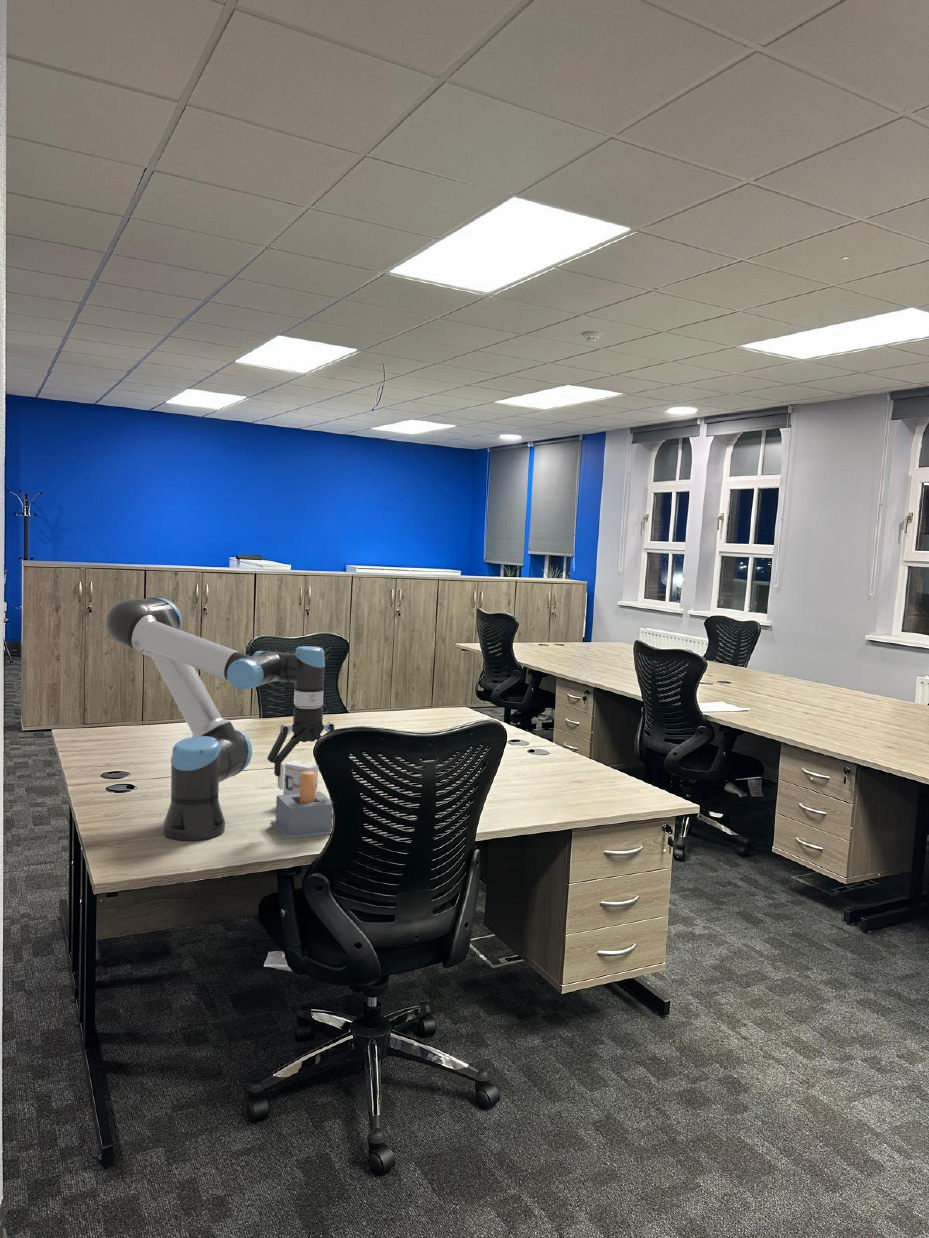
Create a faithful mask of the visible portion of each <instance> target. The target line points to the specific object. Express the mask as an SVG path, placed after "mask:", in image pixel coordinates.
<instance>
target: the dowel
mask: <svg viewBox="0 0 929 1238" xmlns="http://www.w3.org/2000/svg"><path fill="white" fill-rule="evenodd" d="M315 776H316V773H315V772H312V771H304V772H301V773H300V804H302V803H312V802H315Z"/></svg>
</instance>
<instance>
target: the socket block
mask: <svg viewBox="0 0 929 1238" xmlns="http://www.w3.org/2000/svg"><path fill="white" fill-rule="evenodd" d="M330 800H331V799H330V798H329V797H327V796H326V795H325V794H324V793H323V792H321V791H320V790H317V792H315V802H312V803H302V804H300V793H296V794H286V795H283V794H277V795H276V801H275V802H276V805H275V809H276V810H275V819H272V820H270V823H271V824H272V825H273V827H275V829H277V830H278V832H279V833H280V834H281V835H282V836H283V838H284V839H286V840H293V839H298V838H299V839H300V838H307V837H308V838H309V837H316V836H325V835H331V834H330V832H331V829H332V819H333V814H332V804H331V801H332V800H331V801H330Z"/></svg>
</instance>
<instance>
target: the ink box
mask: <svg viewBox="0 0 929 1238" xmlns="http://www.w3.org/2000/svg"><path fill="white" fill-rule="evenodd" d="M316 764H317V763H311V762H306V761H302V760H296V759H295V760H292V761H289V762H286V763H284V783H283V792H282V793H283V794H282V795H286V794H296V793H300V773H301V772H304V771H312V772H315V773H316V776H315V792H317V791H318V777H319V775H318V774H319V766H318V767H317V765H318V764H317V765H316Z"/></svg>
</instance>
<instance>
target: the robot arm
mask: <svg viewBox="0 0 929 1238" xmlns="http://www.w3.org/2000/svg"><path fill="white" fill-rule="evenodd" d="M182 621H183V618H182V614H181V611H180V610H179V608H178V607H177V605H175V603H173V602H172V601H170V600H169V599H166V598H162V597H153V596H152V597H147V598H139V599H137V598H136V599H127V600H122V601H119V602H118V603H116V604H115V605H113V606H112V607H110V609H109V610H108V613H107V615H106V619H105V627H106V631H107V633H108V635H109V636H110V638H111V639H112V640H114V641H115V642H117V643H118V644H120V645H123V646H125V647H127V648H131V649H133V650H136V651H141V653H142V655H145V656H149V657H150V658H151V659H152V662H153V663H154V664H155V666H156V669H157V671H158V672H159V674H160V677H162V679H163V681H164V683H165V685H166V687H167V689H168V690H169V692H170V694H171V697H172V698H173V700H174V701H175V703H176V705H177V707H178V709H179V711H180V713H181V715H182V717H183V718H184V721H185V722H186V723H187V726H188V728H189V729H190V731H191V734H192V736H191V737H187V738H184V739H181V740H178V741H177V742H176V743H175V744H174V745H173V748H172V751H171V752H172V753H171V757H170V764H171V766H170V767H171V770H170V771H171V774H170V777H171V779H170V780H171V781H170V782H171V783H170V798H171V799H170V804H169V806H168V809H167V812H166V815H165V818H164V821H163V825H162V827H163V828H162V829H163V830H162V833H163V835H164V836H165V837H166V838H170V839H173V840H178V841H199V840H201V841H202V840H207V839H212V838H215V837H218V836H219V835H221V834H223V833H224V832H225V828H226V822H225V821H226V820H225V817H224V814H223V812H222V807H221V803H220V801H219V791H220V790H219V789H220V788H219V785H220V782H223V781H224V780H228V779H229V778H231V777H235V776H237V775H238V774H240V773H241V772H242V771H244V770H245V769H247V767H248V766H249V765H250V762H251V761H252V757H253V747H252V742H251V740H250V738H249V737H248V736H247V735H246V734H245V733H243V732H242V731H240V730H238V729H235V727H234V726H233V724H232V722H231V720H229V719H226V718H223V717H222V716H221V714H220V712H219V710H218V708H217V707H216V705H215V702H214V701H213V699H212V697H211V694H209V691H208V690H207V688H206V686H205V684H204V682H203V681H202V679H201V677H200V674H199V673H198V671H197V669H198V670H201V671H203V672H206V673H209V674H210V675H211V674H212V675H214V676H217V677H219V678H222V679H225V680H227V681H228V682H229V683H230V684H229V685H231V686H232V687H234V689H237V690H241V691H242V690H251V689H255V688H257V687H261V686H262V685H266V684H270V683H273V682H286V683H293V684H294V693H293V694H294V695H293V704H294V707H293V715H292V716H293V723H292V725H285V724H282V725H281V726H280V729H279V733H278V734H279V735H278V737H277V739H276V740H275V742H274V744H273V746H272V748H271V750H270V752H269V754H268V755H267V757H266V759H267V761H268V762H270V763H273V764H274V765H273V766H274V768H273V769H274V771H273V773H274V775H275V777H277V788H278V789H279V790H284V774H285V763H283V761H284V760H285V759H286V758H287V757H288V756H289V754H290V753H291V752H292V751H293V749H294V748H295V747H296V746H297V745H298V744H300V742H301V743H308V742H312V743H313V742H315V741H317V740H318V739H319V738H320V737H323V736H322V735H321V734H322V733H323V731H324V730H325V732H326V733H328V732H332V731H335V725H334V723H332V722H330V721H328V722H327V723H324V724H323V720H324V719H323V716H324V715H323V714H324V708H323V705H324V681H325V667H326V663H325V650H324V649H323V648H322V647H320V646H319V647H318V646H313V645H312V646H306V645H303V646H298V647H296V649H295V652H294V653H290V652H289V653H288V652H280V651H271V650H258V651H257V650H256V651H255V652H254V653H253V655H252V656H251V655H248V654H246V653H243V652H240V651H238V650H235V649H232V648H229V647H228V646H227V647H226V646H224V645H221V644H219V643H216V642H213V641H212V640H208V639H207V638H203V637H200V636H198V635H194V634H192V633H190V632H188V631H187V632H186V631H184V630H182V628H181V627H182V624H181V623H182ZM291 732H292V734H293V735H292V736H291V737H290V740H289V741H288V742H287V743H286V744H285V745H284V743H285V741H286V739H287V737H288V735H290V733H291ZM283 745H284V747H283ZM282 747H283V748H282Z"/></svg>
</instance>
